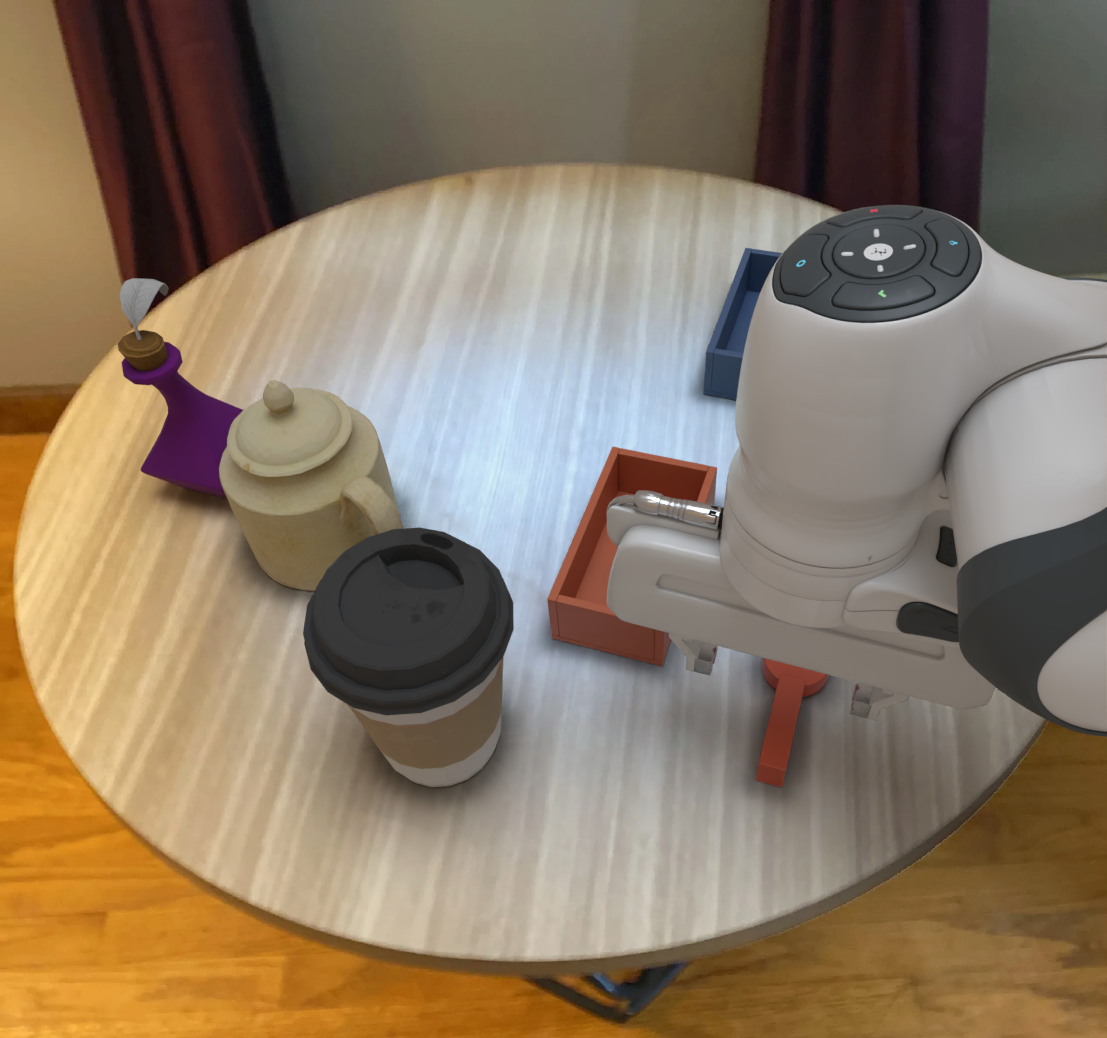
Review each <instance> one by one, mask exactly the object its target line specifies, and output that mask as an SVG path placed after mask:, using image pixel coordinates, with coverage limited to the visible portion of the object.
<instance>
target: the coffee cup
mask: <svg viewBox="0 0 1107 1038" xmlns="http://www.w3.org/2000/svg"><path fill="white" fill-rule="evenodd" d="M514 624H515V623H514V600H513V598H512V596H511V594H510V591H509V589H508V586H507V584H506V581H505V579H504V577H503V576H502V573H501V570H500V569H499V568H498V567H497V566H496V564H495V563H494V562H493V561H491V559H490V558H488V556H487V555H485V553H484V552H483V551H482V550H481V549H479V548H477V547H475V546H473V545H471V544H470V543H467V542H465V541H464V540H462V539H460V538H458V537H455V536H453V535H451V534H449V533H447V532H446V531H441V530H437V529H436V530H435V529H431V528H430V529H429V528H426V527H419V526H418V527H406V528H404V527H403V529H392V530H389V531H386V532H383V533H380V534H376V535H373V536H370V537H367V538H366V539H364V540H362V541H361V542H359V543H357V544H356V545H354V546H352V547H351V548H349V549H347V550H346V551H344V552H343V553H342V554H341V555H340V556H339V557H338V558H337V559H336V560H335V561H334V562H333V563H332V565H331V566H330V567H329V568H328V569H327V570H326V572H325V574H324V576H323V578H322V579H321V580H320V582H319V584H318V586H317V587H316V589H315V591H313V593H312V595H311V597H310V599H309V601H308V603H307V605H306V610H305V617H304V624H303V629H302V636H303V639H304V642H303V644H304V648H305V653H306V657H307V661H308V665H309V668H310V671H311V672H312V674H313V675H314V676H315V678H316V679H317V680H318V682H319V683H320V684H321V686H322V687H323V688H324V689H325V691H326V692H327V693H328V694H330V695H332V697H335V698H336V699H338V700H339V701H341V702H342V703H345V704H346V705H347V706H348V707H349V709H350V710H351V712H352V713H353V714H354V717H356V719H357V720H358V721H359V723H360V724H361V726H362V727H363V728H364V730H365V731H366V733H367V734H368V735H369V737H370V739H371V740H372V741H373V743H375V745H376V747H377V748H378V749H379V750H380V752H381V753H382V755H383V756H384V758H385V759H386V760H387V762H388V763H389V765H390V766H391V767H392V769H394V771H395V772H397V773H399V774H400V775H402V776H403V777H405V778H406V779H408V780H410V781H411V782H413V783H415V784H417V785H422V786H425V787H429V788H441V787H442V788H443V787H451V786H454V785H457V784H459V783H463V782H465V781H468V780H469V779H470V778H472V777H473V776H475V775H477V773H479V772H480V771H482V770H483V769H484V767H485V766H486V764H487V763H488V762H489V760H490V759H491V758H492V757H493V754H494V751H495V750H496V747H497V744H498V742H499V738H500V736H501V732H502V707H503V681H504V679H503V678H504V657H505V655H506V651H507V649H508V646H509V643H510V640H511V638H512V636H513V632H514V627H515V625H514Z"/></svg>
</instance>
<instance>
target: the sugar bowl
mask: <svg viewBox="0 0 1107 1038" xmlns="http://www.w3.org/2000/svg"><path fill="white" fill-rule="evenodd" d="M263 389H264V390H263V391H262V398H260V399H258V400H257V401H255V402H254V403H252V404H250V405H249V406H247V407H245V408H244V409H243V411H242V412H241V413H240V414H239V415H238V416H237V417H236V418H235V419H234V421H233V423H232V424H231V426H230V430H229V434H228V438H227V447H226V449H225V451H224V452H223V455H222V458H221V462H220V466H219V477H220V481H221V485H222V487H223V490H224V492H225V494H226V497H227V498H226V499H227V501H228V503H229V506H230V509H231V511H232V513H233V515H234V517H235V519H236V521H237V523H238V526H239V528H240V529H241V531H242V533H243V535H244V536H243V537H245V540H246V541H247V544H248V546H249V547H250V549H251V552H252V554H253V555H254V557H255V560H256V561H257V563H258V565H259V566H260V568H261V569H262V570H263V571H264V573H265V574H266V575H267V576H268V577H269V578H271V579H272V581H275V582H277V583H278V584H280V585H283V586H285V587H287V588H291V589H295V590H300V591H311V592H314V591H315V589H316V587H317V586H318V584H319V582H320V580H321V579H322V578H323V576H324V574H325V572H326V570H327V569H328V568H329V567H330V566H331V565H332V563H333V562H334V561H335V560H336V559H337V558H338V557H339V556H340V555H341V554H342V553H343V552H344V551H346V550H347V549H349V548H351V547H352V546H354V545H356V544H357V543H359V542H361V541H362V540H364V539H366V538H367V537H370V536H373V535H376V534H380V533H383V532H386V531H389V530H392V529H404V525H403V522H402V520H401V516H400V511H399V508H398V503H397V498H396V495H395V491H394V486H393V483H392V478H391V475H390V472H389V471H390V470H389V467H388V464H387V461H386V457H385V454H384V451H383V448H382V444H381V441H380V438H379V435H378V431H377V429H376V428H375V426H374V424H373V423H372V422H371V420H370V419H369V417H367V416H366V415H365V414H364V413H362V412H361V411H359V410H357V409H356V408H354V407H352V406H349V405H347V403H346V402H345V401H344V400H343V399H341V397H339V396H338V395H336V394H335V393H332V392H330V391H325V390H322V389H319V388H310V387H294V388H290V387H289V386H288V385H287V384H286V383H284V382H282V381H279V380H277V379H272V380H269V381H268V382H267V384H266V385H265V386H264V388H263Z"/></svg>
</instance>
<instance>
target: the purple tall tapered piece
mask: <svg viewBox="0 0 1107 1038" xmlns="http://www.w3.org/2000/svg"><path fill="white" fill-rule="evenodd" d="M169 288H170V287H168V285H167V284H166V283H165V282H161V281H160V280H157V279H154V278H137V277H135V278H134V277H132V278H130V279H127V280H125V281H124V282H123V284H122V285H121V287H120V291H119V301H120V307H121V311H122V312H123V314H124V315H125V316H126V318H127V320H128V321H129V323H130V324H131V326H132V328H133V330H134V331H132V332H129V333H127V334H125V335H123V336H122V337H121V339H119V341H118V342H117V348H118V352H119V353H120V354H121V355H122V356H123V357H124V358H123V360H122V361H121V369H122V375H123V377H124V378H125V379H126V380H128V381H129V382H131V383H132V384H134V385H137V386H153V387H154V389H156V390H157V391H158V392H159V393H160V394H161V395H162V397H163V398H164V400H165V403H166V406H167V415H166V417H165V419H164V422H163V425H162V427H161V430H160V432H159V435H158V436H157V438H156V440H155V442H154V444H153V445H152V447H151V449H150V450H149V452H148V454H147V456H146V458H145V460H144V461H143V463H142V465H141V467H140V471H141V472H142V473H143V474H144V475H147V476H150V477H153V478H155V479H158V480H161V481H164V482H166V483H169V484H171V485H175V486H177V487H179V488H183V489H186V490H190V491H194V492H197V493H202V494H206V495H211V496H215V497H219V498H224V499H227V497H226V494H225V492H224V490H223V487H222V485H221V481H220V477H219V466H220V462H221V458H222V455H223V452H224V451H225V449H226V447H227V438H228V434H229V430H230V426H231V424H232V423H233V421H234V419H235V418H236V417H237V416H238V415H239V414H240V413H241V412H242V411H243V410H244V409H243V408H240V407H238V406H235V405H232V404H230V403H228V402H225V401H223V400H220V399H218V398H217V397H214V396H211V395H209V394H206V393H204V392H203V391H202V390H199V389H198V388H197V387H196V386H194V385H193V384H192V383H190V382H189V381H188V380H187V379H186V378H184V376H183V375H181V374H180V373H179V369H180V368H181V366H182V364H183V358H182V357H183V356H182V353H181V350H180V349H179V348H178V347H177V346H175V345H173V344H172V343H171V342H169V341H165V340H164V337H163V336H162V335H160V334H159V333H158V332H156V331H152V330H146V329H140V330H139V325H140V323H141V322H142V321H143V319H144V318H145V317H146V315H147V313H148V311H149V309H150V307H151V305H152V303H153V301H154V299H155V297H156V296H157V294H158V292H159V293H160V294H162V295H163V296H164V297H166V296H167V295H168V292H169Z"/></svg>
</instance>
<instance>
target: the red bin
mask: <svg viewBox="0 0 1107 1038" xmlns="http://www.w3.org/2000/svg"><path fill="white" fill-rule="evenodd" d="M717 474H718V467H717V466H712V465H707V464H703V463H698V462H694V461H689V460H687V461H686V460H683V459H678V458H673V457H667V456H662V455H657V454H652V453H647V452H643V451H638V450H632V449H627V448H623V447H618V446H611V448H610V452H609V453H608V455H607V458H606V461H605V462H604V465H603V467H602V470H601V472H600V475H599V477H598V479H597V482H596V484H595V486H594V489H593V490H592V493H591V495H590V497H589V500H588V502H587V505H586V507H585V510H584V512H583V514H582V516H581V519H580V521H579V524H578V526H577V528H576V530H575V533H574V536H573V538H572V540H571V543H570V545H569V547H568V550H567V552H566V554H565V556H564V559H563V561H562V564H561V565H560V568H559V571H558V573H557V574H556V577H555V580H554V582H553V584H552V587H551V590H550V591H549V594H548V595H547V599H546V600H547V607H548V608H547V609H548V616H549V624H550V633H551V639H552V640H557V641H561V642H564V643H568V644H572V645H575V646H579V647H584V648H588V649H592V650H596V651H599V652H604V653H607V654H611V655H616V656H619V657H623V658H626V659H627V658H628V659H632V660H635V661H640V662H643V663H647V664H651V665H655V666H659V667H664V665H665V661H666V659H667V655H668V652H669V649H670V646H671V643H672V640H671V639H670V638H669V633H667V632H663V631H659V630H656V629H652V628H648V627H644V626H640V625H636V624H632V623H628V622H625V621H623V620H621V619H619V618H618V617H617V616H616V615H615V614H614V613H613V612H612V611H611V610H610V608H609V607H608V606H607V588H608V581H609V576H610V571H611V567H612V564H613V560H614V557H615V555H616V552H617V549H618V547H617V546H616V545H615V544H614V543H613V542H612V541H611V539H610V537H609V536H608V533H607V508H608V505H609V504H610V502H611V501H612V500H613V499H614V498H617V497H620V496H624V495H635V494H636V492H637V491H639V490H645V491H653V492H657V493H660V494H663V496H666V497H671V498H675V499H682V500H688V501H689V500H691V501H697V502H702V503H706V504H710V505H715V502H716V501H715V500H716V488H717Z"/></svg>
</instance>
